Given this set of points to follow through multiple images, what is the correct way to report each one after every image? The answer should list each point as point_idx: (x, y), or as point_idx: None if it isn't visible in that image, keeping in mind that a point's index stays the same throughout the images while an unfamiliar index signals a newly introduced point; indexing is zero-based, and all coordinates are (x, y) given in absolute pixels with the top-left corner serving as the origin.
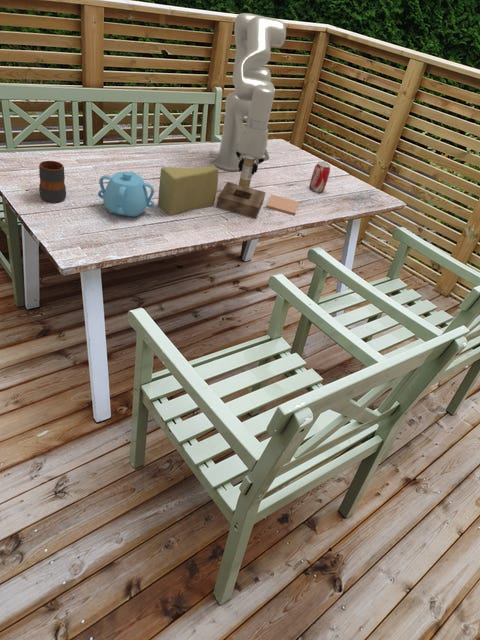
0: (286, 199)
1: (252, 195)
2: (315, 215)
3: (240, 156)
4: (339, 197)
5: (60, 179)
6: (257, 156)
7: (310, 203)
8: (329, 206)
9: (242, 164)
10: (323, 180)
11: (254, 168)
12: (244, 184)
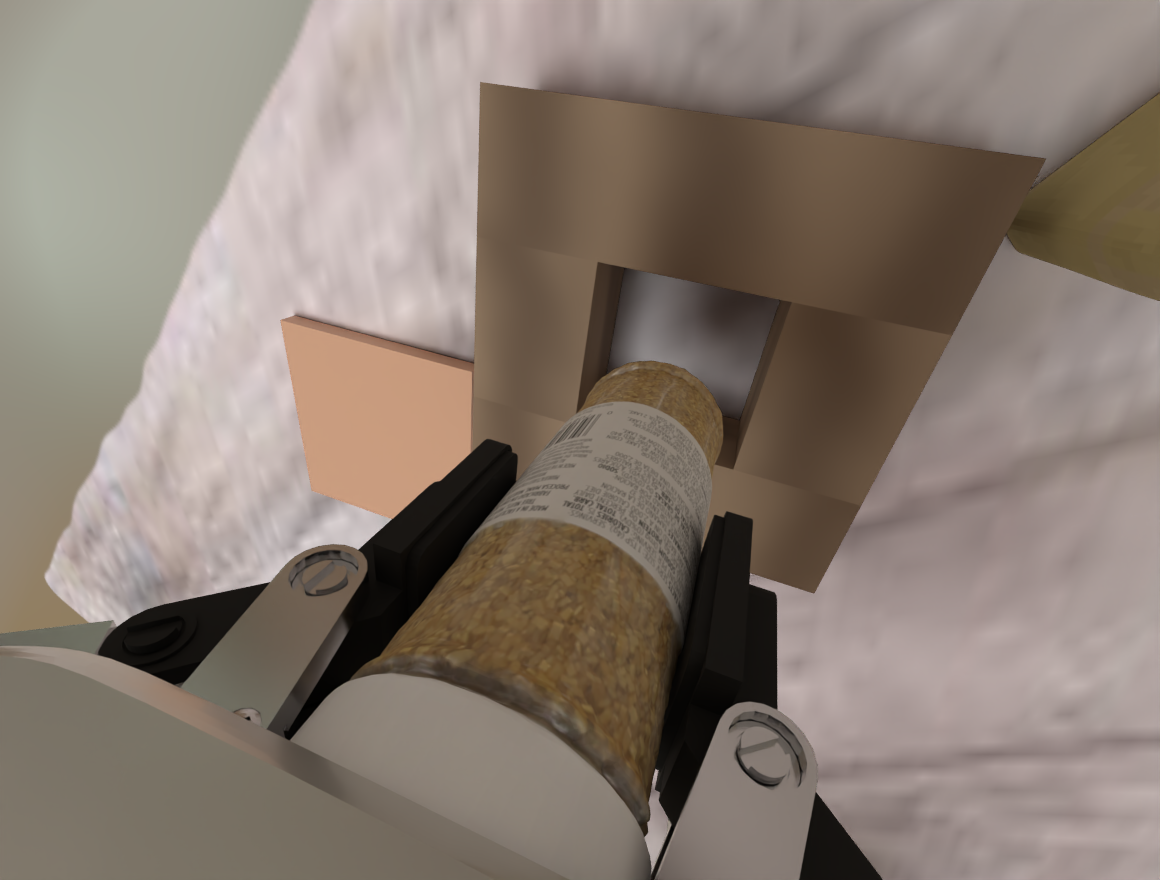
0: (376, 500)
1: (568, 381)
2: (209, 368)
3: (778, 843)
4: (204, 592)
5: None
6: (35, 717)
7: (276, 506)
8: (200, 498)
9: (686, 632)
10: None
11: (427, 500)
12: (646, 378)
